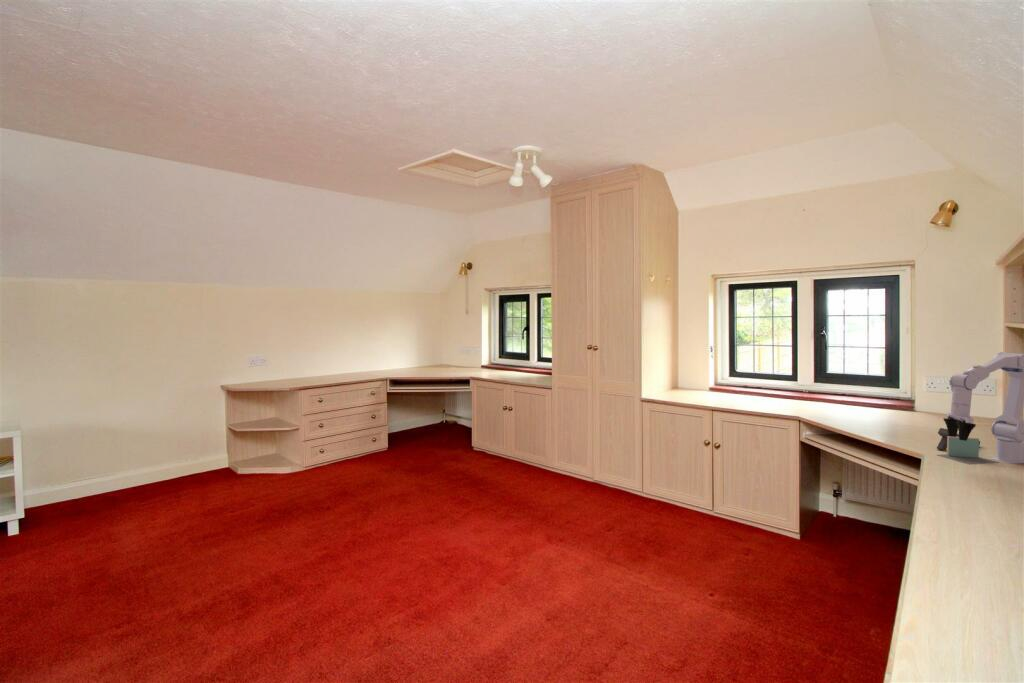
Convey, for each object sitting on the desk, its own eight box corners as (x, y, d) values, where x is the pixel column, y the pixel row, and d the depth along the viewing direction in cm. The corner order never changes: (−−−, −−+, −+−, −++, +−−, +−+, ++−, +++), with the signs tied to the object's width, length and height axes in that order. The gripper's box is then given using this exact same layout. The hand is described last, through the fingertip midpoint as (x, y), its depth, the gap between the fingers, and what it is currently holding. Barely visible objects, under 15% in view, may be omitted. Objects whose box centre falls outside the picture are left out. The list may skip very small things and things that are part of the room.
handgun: (933, 449, 224) (938, 427, 224) (968, 458, 231) (973, 437, 232) (943, 451, 220) (948, 429, 221) (978, 461, 228) (983, 439, 228)
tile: (947, 454, 215) (947, 436, 214) (977, 457, 211) (977, 438, 211) (948, 455, 213) (948, 437, 213) (978, 457, 210) (979, 438, 209)
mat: (964, 454, 217) (964, 453, 217) (999, 463, 203) (999, 462, 203) (935, 456, 215) (935, 454, 215) (969, 465, 201) (969, 464, 201)
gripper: (939, 401, 209) (935, 433, 209) (959, 405, 195) (955, 440, 195) (959, 402, 207) (956, 436, 207) (981, 407, 193) (977, 443, 193)
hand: (957, 438), depth 201 cm, fingers open, 7 cm apart
